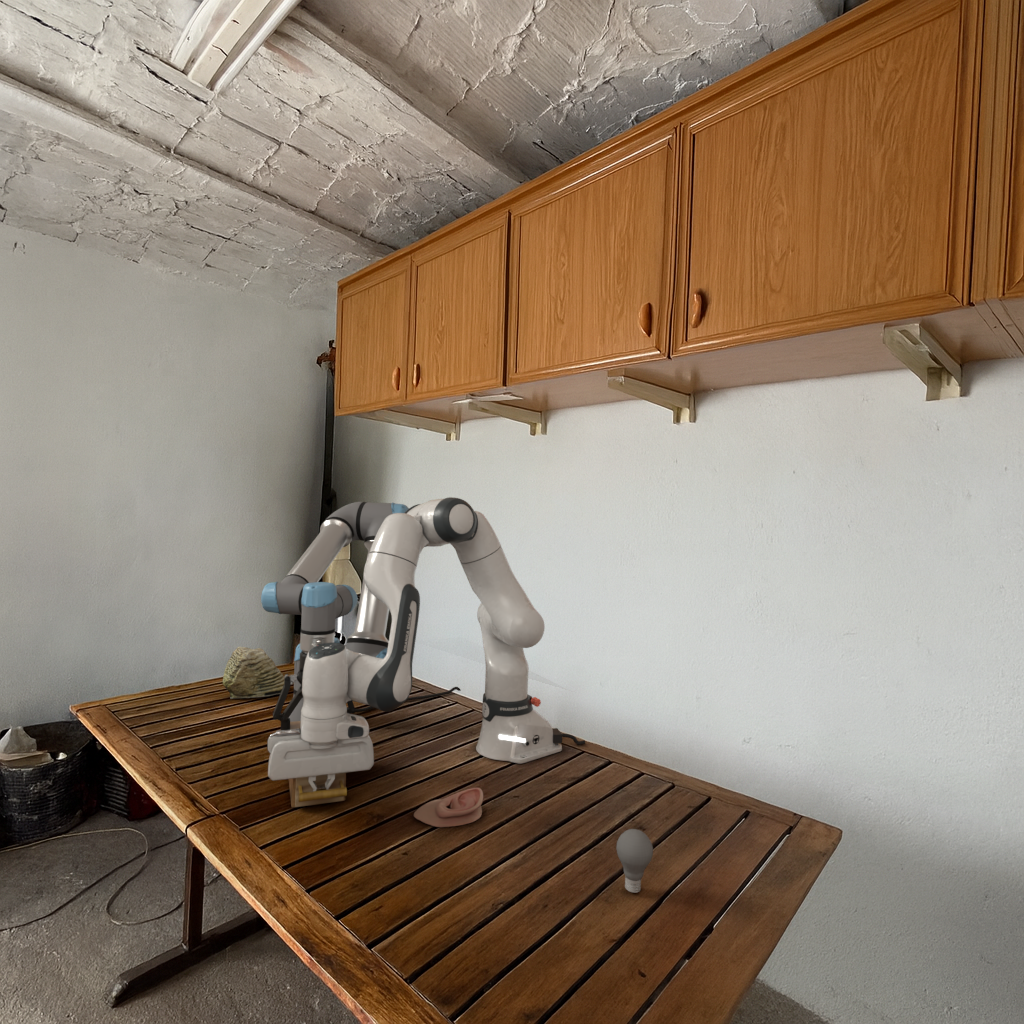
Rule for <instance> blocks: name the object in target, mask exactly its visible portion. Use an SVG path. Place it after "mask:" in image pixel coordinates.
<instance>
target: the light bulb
mask: <svg viewBox="0 0 1024 1024" xmlns="http://www.w3.org/2000/svg"><path fill="white" fill-rule="evenodd" d="M615 849H616V854H617V857H618V859H619V861H620V863H621V865H622V867H623V873H624V874H623V875H624V876H625V878H624V888H625V890H627V891H628V892H630V893H634V894H635V893H639V892H640V891H641V889H642V887H641V886H642V879H643V877H644V875H645V871H646V868H647V867H648V866H649V864H650V863H651V861H652V859H653V855H654V847H653V843H652V841H651V838H649V836H648V835H647V834H646V833H645V832H643V831H642V830H641V829H636V828H629V829H627V830H625V831H623V832H622V833H621V834H620V835H619V837H618V839H617V841H616V847H615Z"/></svg>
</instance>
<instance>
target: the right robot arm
mask: <svg viewBox="0 0 1024 1024" xmlns="http://www.w3.org/2000/svg"><path fill="white" fill-rule="evenodd" d="M408 508H409V509H408V510H407V511H406V512H405V513H394V514H391V515H389V516H387V517H386V518H385V520H384V521H383V523H382V525H381V526H380V528H379V530H378V532H377V534H376V537H375V539H374V541H373V544H372V546H371V549H370V552H369V555H368V554H367V555H368V558H367V557H366V561H365V564H364V567H363V578H364V581H365V584H366V586H367V588H368V589H369V591H370V592H371V593H372V594H373V595H374V596H375V597H376V598H378V599H379V600H380V601H382V602H383V603H384V604H385V605H386V606H387V607H388V608H389V613H390V615H391V624H390V631H389V636H388V637H389V638H388V641H389V643H388V649H387V654H386V656H385V657H384V658H383V659H382V658H377V657H373V656H369V655H365V654H361V653H356V652H353V651H351V650H349V649H347V648H346V647H345V646H344V645H345V644H344V643H341V642H340V643H334V642H331V643H323V644H320V645H317V646H315V647H313V648H312V649H311V650H310V651H309V652H308V654H307V657H306V660H305V664H304V670H303V679H302V694H303V699H304V702H303V707H302V710H301V725H300V728H299V729H290V730H281V729H279V730H275V732H273V733H272V734H270V735H269V736H268V738H267V741H266V750H267V753H269V758H268V763H267V777H268V779H270V780H271V781H282V780H283V781H284V780H289V779H293V778H302V777H308V782H309V783H310V785H311V787H312V788H313V791H319V790H327V789H329V787H330V786H331V784H332V783H333V781H334V779H335V774H337V773H346V774H347V773H354V772H364V771H370V770H371V769H372V767H373V766H374V765H375V753H374V744H373V740H372V739H371V736H370V726H369V725H370V724H369V723H368V721H367V719H366V718H365V717H364V716H362V715H357V714H354V713H353V714H352V713H351V714H349V713H347V707H348V705H347V702H348V701H351V700H352V701H353V702H354V703H358V704H362V705H367V706H371V707H374V708H373V709H377V710H379V711H381V712H384V713H389V712H393V711H394V710H396V709H398V708H399V707H401V706H402V705H403V704H405V702H407V701H406V700H407V698H409V697H410V695H411V692H412V689H413V663H414V662H413V661H414V653H415V647H416V646H415V645H416V639H417V632H418V626H419V625H418V624H419V618H420V616H419V615H420V608H421V596H420V595H421V594H420V592H419V590H418V589H417V587H416V583H415V578H416V577H415V576H416V570H417V568H418V564H419V560H420V556H421V553H422V551H423V549H424V548H427V547H428V548H430V547H431V548H434V547H435V548H437V547H442V546H444V545H445V546H446V545H451V546H452V547H453V549H454V550H455V552H456V555H457V558H458V560H459V563H460V565H461V567H462V569H463V573H464V574H465V576H466V578H467V581H468V583H469V586H470V588H471V590H472V592H473V593H474V594H475V595H476V597H477V599H479V601H480V604H479V606H478V608H477V612H476V616H477V621H478V624H479V626H480V627H479V628H480V631H481V639H482V645H483V653H484V661H485V675H484V677H485V678H484V693H483V694H482V706H481V713H482V714H481V715H482V722H481V727H480V732H479V737H478V740H477V743H476V746H475V750H476V752H477V753H478V754H479V755H481V756H483V757H485V758H487V759H490V760H495V761H504V762H511V763H515V764H522V765H523V764H525V763H529V762H532V761H535V760H537V759H541V758H544V757H547V756H550V755H553V754H556V753H560V752H562V751H563V745H562V743H563V738H567V739H571V740H572V741H573V742H574V744H575V745H578V746H582V745H586V740H578V739H577V737H576V736H574V735H573V734H569V733H562V732H561V731H560V730H559V728H557V727H555V728H554V727H553V726H552V724H551V723H550V721H548V719H546V718H545V717H544V716H543V715H542V714H541V713H539V712H537V710H535V709H534V707H535V708H538V707H540V705H541V704H542V701H541V699H540V698H538V697H536V696H534V697H533V696H532V695H530V694H529V693H528V692H529V671H530V670H529V668H530V667H529V663H528V660H527V658H526V653H525V651H524V649H529V648H533V647H534V646H536V645H537V644H538V643H539V642H540V641H541V640H542V638H543V637H544V634H545V629H546V627H545V620H544V618H543V617H542V615H541V613H539V611H538V610H537V609H536V608H535V606H534V605H533V604H532V602H531V600H530V598H529V597H528V594H527V593H526V591H525V590H524V589H523V586H522V585H521V583H520V582H519V581H518V579H517V577H516V576H515V573H514V572H513V570H512V568H511V565H510V563H509V561H508V558H507V556H506V554H505V551H504V549H503V547H502V543H501V542H500V540H499V538H498V535H497V534H496V532H495V530H494V528H493V527H492V525H491V523H490V522H489V520H488V519H487V517H486V516H485V515H484V513H482V512H480V511H477V510H474V508H473V506H471V504H470V503H469V502H467V501H466V500H464V499H463V498H460V497H452V496H449V497H446V498H445V497H444V498H436V499H431V500H428V501H426V502H422V503H419V504H414V505H412V506H411V507H408ZM533 706H534V707H533ZM319 775H327V777H328V779H327V781H326V782H325V784H321V785H316V783H315V781H316V776H319Z"/></svg>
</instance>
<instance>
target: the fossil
mask: <svg viewBox="0 0 1024 1024" xmlns="http://www.w3.org/2000/svg"><path fill="white" fill-rule="evenodd" d="M222 676H223V677H222V685H223V687H224V688H225V690H226V691H228V693H229V698H230V699H250V698H264V697H271V696H275V695H280V694H281V691H282V688H283V686H284V676H285V675H284V674H283V673H282V672H281V669H279V668H278V667H277V665H276V663H275V662H274V660H273V659H272V658H271V657H270V656H269V655H268V654H267V653H266V652H265V650H264V649H263V648H260V647H258V648H251V647H247V646H246V647H245V646H238V647H237V648H236V649H235V650H233V651H232V653H231V656H230V657H229V659H228V660H227V663H226V666H225V668H224V671H223V675H222Z"/></svg>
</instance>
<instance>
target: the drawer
mask: <svg viewBox="0 0 1024 1024" xmlns="http://www.w3.org/2000/svg"><path fill="white" fill-rule="evenodd" d="M344 776H345V773H337V774H335V779H334V781H333V783H332V784H331V786H330V787H329V789H327V790H319V791H313V788H312V787H311V785H310V783H309V782H308V777H302V778H296V794H295V807H294V808H299V807H300V808H301V807H306V806H307V807H308V806H316V805H322V804H323V805H324V804H329V803H336V802H337V803H338V802H343V801H345V800H344V796H345V797H347V795H348V789H347V786H346V787H344ZM327 779H328V777H327V775H319V776H316V781H315V783H316V785H321V784H325V782H326V781H327Z"/></svg>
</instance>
